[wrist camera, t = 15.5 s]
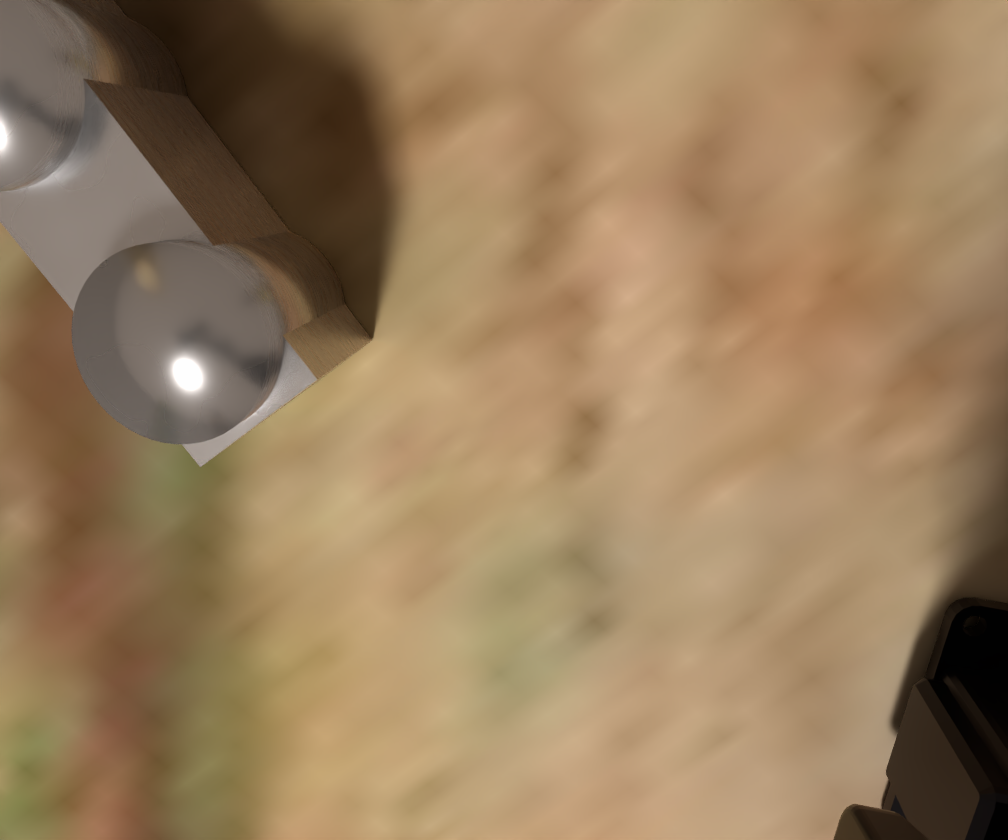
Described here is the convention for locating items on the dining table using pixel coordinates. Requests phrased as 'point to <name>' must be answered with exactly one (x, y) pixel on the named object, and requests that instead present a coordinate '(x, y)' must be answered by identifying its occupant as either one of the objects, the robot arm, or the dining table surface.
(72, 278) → the chain joint
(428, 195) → the dining table surface
